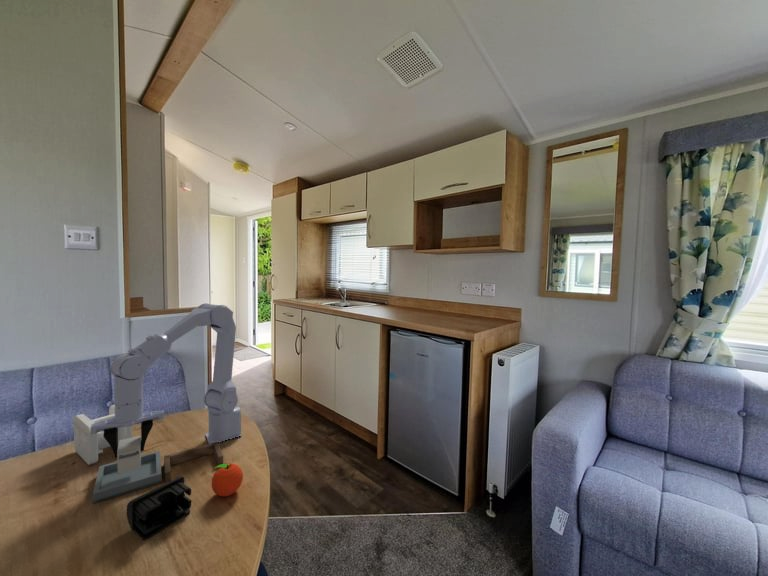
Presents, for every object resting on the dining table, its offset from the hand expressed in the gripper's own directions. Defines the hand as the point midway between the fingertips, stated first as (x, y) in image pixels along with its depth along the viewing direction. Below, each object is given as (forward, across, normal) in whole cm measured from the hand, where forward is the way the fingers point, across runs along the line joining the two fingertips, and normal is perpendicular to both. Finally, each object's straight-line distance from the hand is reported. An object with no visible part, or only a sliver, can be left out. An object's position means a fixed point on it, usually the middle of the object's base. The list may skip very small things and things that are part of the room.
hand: (129, 452), depth 82 cm
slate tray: (+7, 0, 0) cm, 7 cm away
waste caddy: (+3, 0, 0) cm, 3 cm away
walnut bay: (+7, +14, -3) cm, 16 cm away
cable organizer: (+7, -7, +20) cm, 22 cm away
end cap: (+7, +6, -21) cm, 23 cm away
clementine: (+7, +19, -20) cm, 29 cm away
